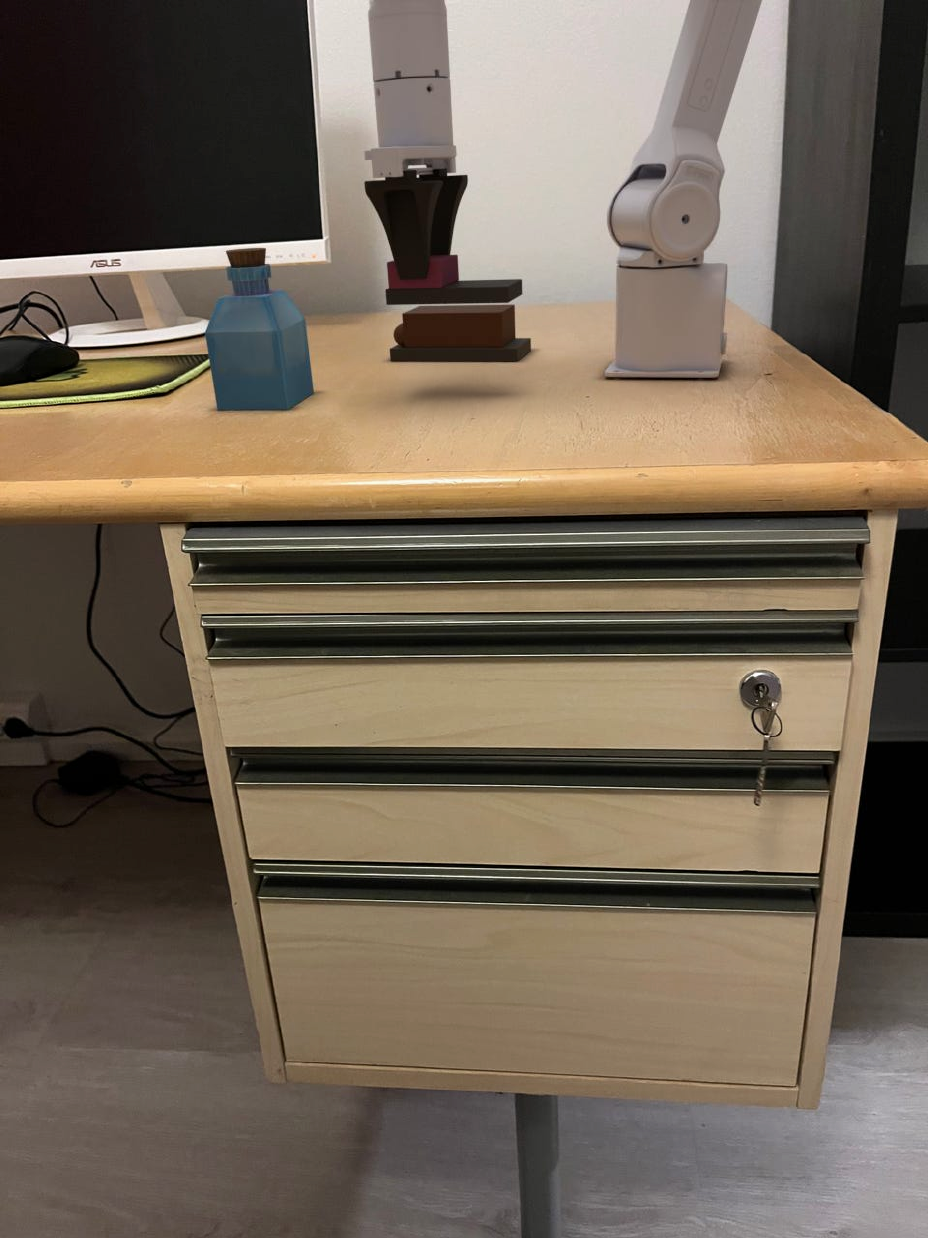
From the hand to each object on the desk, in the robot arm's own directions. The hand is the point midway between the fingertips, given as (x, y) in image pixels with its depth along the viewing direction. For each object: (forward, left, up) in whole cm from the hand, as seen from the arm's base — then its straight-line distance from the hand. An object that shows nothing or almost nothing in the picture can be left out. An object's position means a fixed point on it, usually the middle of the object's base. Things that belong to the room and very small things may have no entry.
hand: (424, 275), depth 77 cm
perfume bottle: (+13, +4, -10) cm, 17 cm away
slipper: (-2, 0, -2) cm, 3 cm away
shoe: (+2, -17, -9) cm, 19 cm away
